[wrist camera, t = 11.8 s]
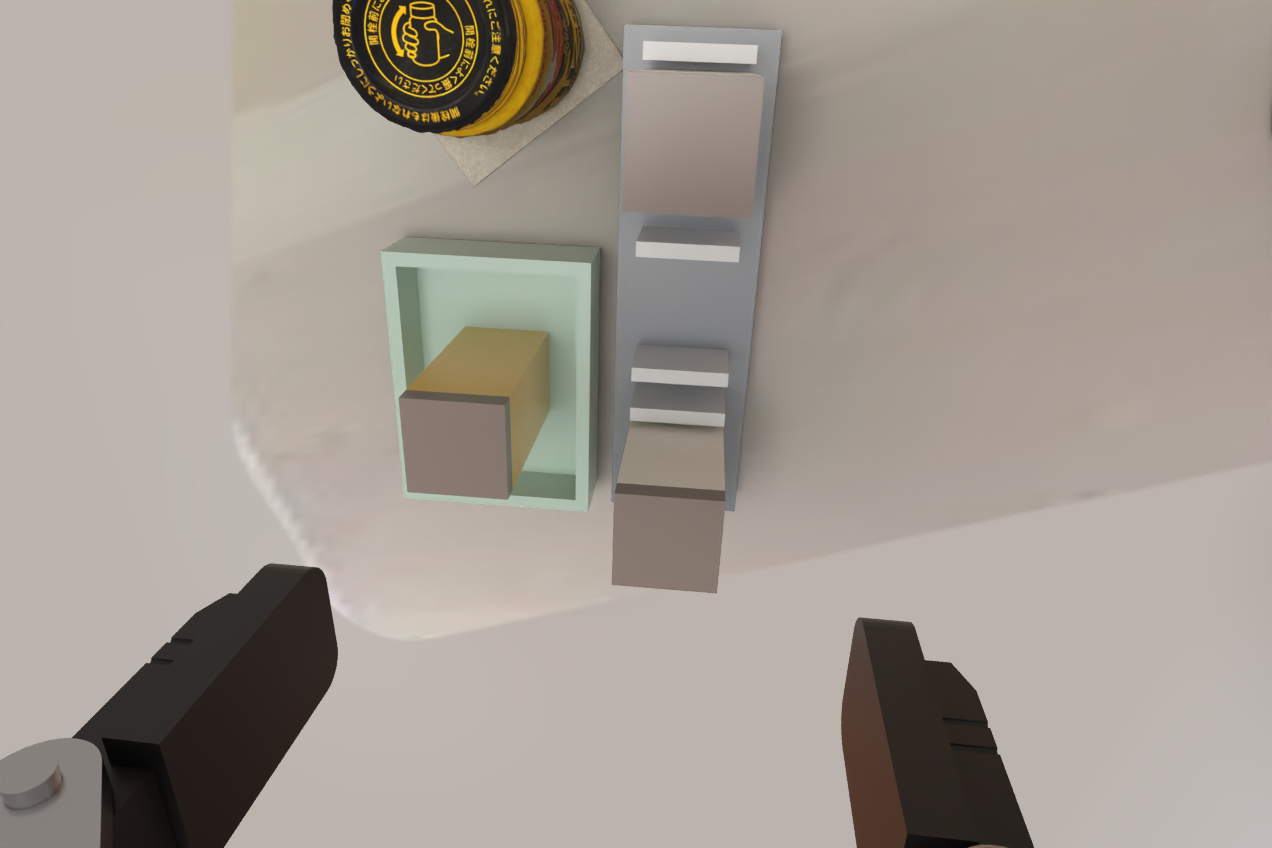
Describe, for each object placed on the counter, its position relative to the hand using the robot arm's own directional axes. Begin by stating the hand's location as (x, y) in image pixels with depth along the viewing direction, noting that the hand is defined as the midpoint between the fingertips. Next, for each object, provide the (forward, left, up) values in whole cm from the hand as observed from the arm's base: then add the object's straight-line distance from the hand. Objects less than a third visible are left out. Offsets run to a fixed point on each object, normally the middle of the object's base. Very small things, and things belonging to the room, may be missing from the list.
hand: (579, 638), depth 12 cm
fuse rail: (-1, +1, -27) cm, 27 cm away
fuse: (+7, +6, -26) cm, 28 cm away
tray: (+8, +6, -27) cm, 28 cm away
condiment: (+8, -8, -27) cm, 29 cm away
